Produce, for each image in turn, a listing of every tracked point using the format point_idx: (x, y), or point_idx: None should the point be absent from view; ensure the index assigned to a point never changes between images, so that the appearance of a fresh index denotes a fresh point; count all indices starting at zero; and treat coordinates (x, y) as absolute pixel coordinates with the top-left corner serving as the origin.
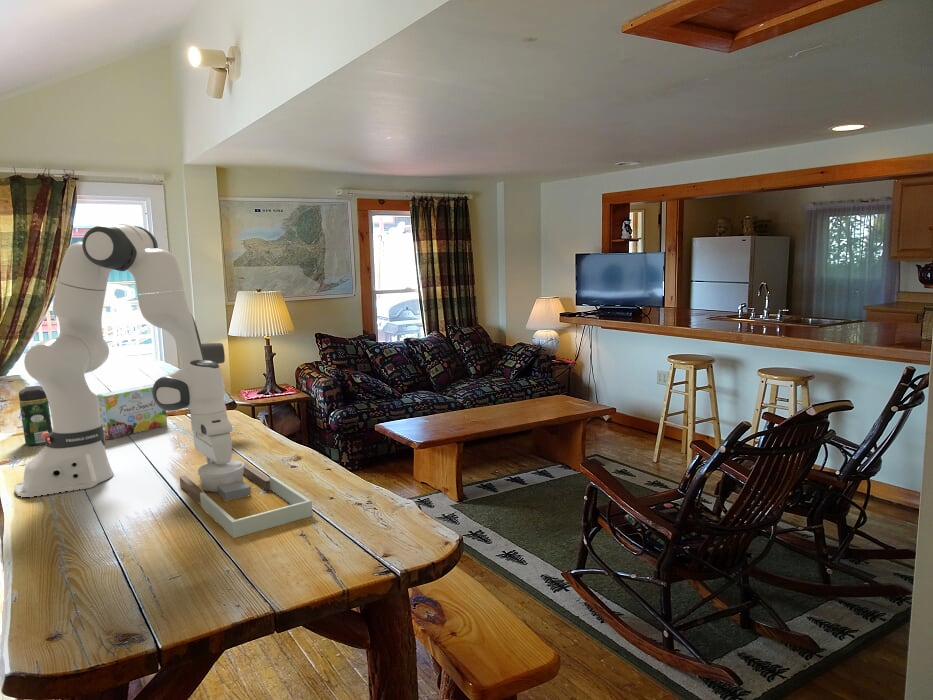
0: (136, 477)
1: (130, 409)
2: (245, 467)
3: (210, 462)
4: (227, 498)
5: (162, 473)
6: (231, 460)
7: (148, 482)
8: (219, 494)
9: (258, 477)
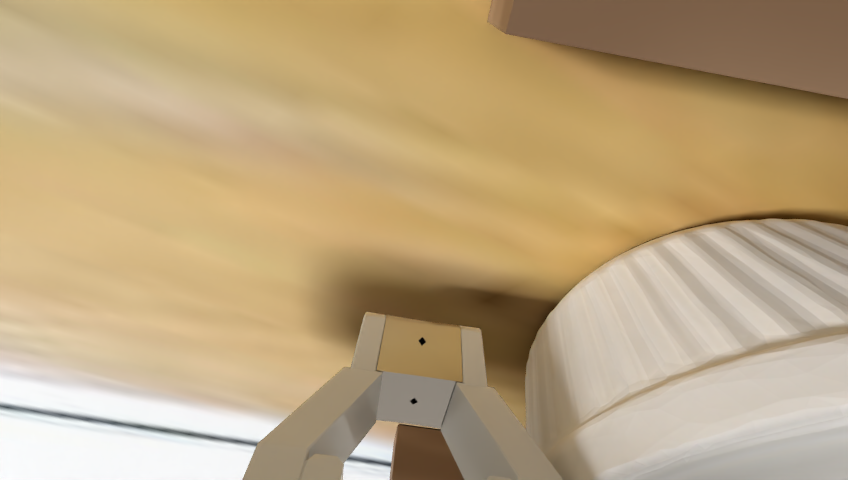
0: (70, 471)
1: None
2: (827, 87)
3: (351, 438)
4: None
5: (46, 406)
6: (821, 442)
7: (199, 474)
8: None
9: None
